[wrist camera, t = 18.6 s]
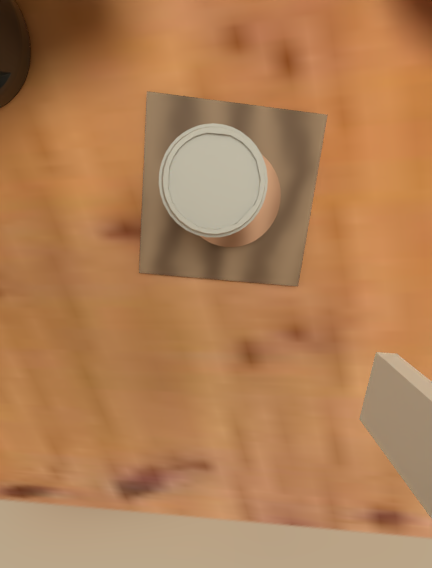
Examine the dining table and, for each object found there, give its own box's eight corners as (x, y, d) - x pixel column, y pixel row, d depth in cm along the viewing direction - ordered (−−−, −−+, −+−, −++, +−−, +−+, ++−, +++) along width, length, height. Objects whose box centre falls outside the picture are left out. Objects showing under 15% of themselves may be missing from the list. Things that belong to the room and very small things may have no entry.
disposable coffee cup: (182, 235, 41) (177, 252, 29) (157, 156, 38) (141, 139, 26) (257, 213, 40) (282, 221, 29) (237, 132, 38) (255, 105, 26)
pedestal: (140, 271, 45) (135, 278, 42) (148, 93, 40) (143, 83, 36) (295, 284, 47) (304, 292, 43) (324, 116, 42) (337, 108, 38)
